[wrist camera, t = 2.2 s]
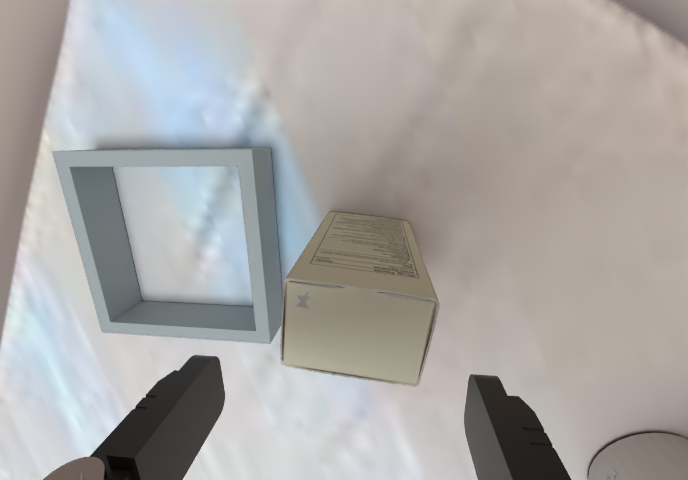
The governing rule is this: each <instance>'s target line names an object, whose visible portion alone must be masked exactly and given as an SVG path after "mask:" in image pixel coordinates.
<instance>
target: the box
mask: <svg viewBox="0 0 688 480" xmlns="http://www.w3.org/2000/svg"><path fill="white" fill-rule="evenodd" d="M52 153H53V157H54V161H55V164H56V168H57V172H58V175H59V179H60V182H61V186H62V190H63V193H64V197H65V201H66V204H67V208H68V211H69V215H70V219H71V222H72V226H73V229H74V233H75V237H76V240H77V244H78V248H79V251H80V255H81V258H82V262H83V266H84V269H85V273H86V277H87V280H88V284H89V287H90V291H91V295H92V298H93V302H94V306H95V309H96V313H97V316H98V320H99V324H100V327H101V331H102V332H103V333H118V334H133V335H148V336H163V337H178V338H192V339H207V340H222V341H237V342H252V343H267V344H270V343H271V342H272V340H273V338H274V336H275V335H276V333H277V331H278V329H279V327H280V326H281V322H282V307H283V296H282V283H281V270H280V257H279V245H278V232H277V219H276V206H275V193H274V181H273V168H272V155H271V148H202V149H103V150H75V151H52ZM132 166H238V169H239V179H240V188H241V197H242V206H243V215H244V224H245V233H246V242H247V252H248V261H249V270H250V279H251V288H252V297H253V306H254V307H248V306H229V305H210V304H191V303H172V302H153V301H142V299H141V294H140V290H139V285H138V281H137V276H136V272H135V267H134V263H133V259H132V254H131V250H130V245H129V241H128V236H127V232H126V227H125V223H124V219H123V214H122V210H121V205H120V201H119V196H118V192H117V187H116V183H115V179H114V174H113V170H112V167H132Z"/></svg>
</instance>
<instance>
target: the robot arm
mask: <svg viewBox="0 0 688 480" xmlns="http://www.w3.org/2000/svg"><path fill="white" fill-rule="evenodd" d="M224 401H225V391H224V385H223V379H222V372H221V366H220V361H219V359H218V357H216V356H201V355H194V356H192V357H191V358H190V359H189V360H188V361H187V362H186V363H185V364H184V365H183V367H182V368H181V369H180V370H179V371H176V370H175V371H173V372H172V373H170V374H169V375H167V376H166V377H164V378H163V379H161V380H160V381H158V382H157V383H156V384H155V386H154V387H153V388H152V389H151V390H150V391H149V392H148V393H147V394H146V397H145V398H143V399H142V400H141V401H140V402H139V403H138V404H137V405H136V408H135V409H133V410H132V411H131V412H130V413H129V414H128V415H127V416H126V417H125V418H124V420H123V421H122V422H121V423H120V424H119V425H118V426H117V427H116V428H115V429H114V431H113V432H112V433H111V434H110V435H109V436H108V437H107V438H106V439H105V440H104V441H103V443H102V444H101V445H100V446H99V447H98V448H97V449H96V450H95V451H94V452H93V454H92V455H91V456H90V457H83V458H79V459H76V460H73V461H71V462H69V463H66V464H64V465H63V466H61V467H59V468H58V469H56V470H54V471H53V472H52V473H50V474H49V475H48V476H47V477H45V478H44V479H43V480H183V478H184V476H185V474H186V473H187V471H188V469H189V468H190V466H191V464H192V462H193V461H194V459H195V457H196V456H197V454H198V452H199V450H200V449H201V447H202V445H203V444H204V442H205V440H206V438H207V437H208V435H209V433H210V432H211V430H212V428H213V426H214V425H215V423H216V421H217V420H218V418H219V416H220V414H221V412H222V409H223V406H224ZM464 424H465V433H466V437H467V441H468V445H469V449H470V452H471V456H472V460H473V463H474V467H475V470H476V474H477V478H478V480H571V478H570V476H569V475H568V473H567V471H566V469H565V467H564V465H563V463H562V462H561V460H560V458H559V456H558V454H557V452H556V451H555V449H554V448H553V447H552V443H551V441H550V440H549V438H548V436H547V434H546V433H544V429H543V427H542V425H541V423H540V421H539V419H538V418H537V416H536V414H535V412H534V411H533V410H532V409H531V408H530V407H529V406H528V405H527V404H526V403H525V402H524V401H523V400H522V399H521V398H520V397H519V396H507V394H506V391H505V389H504V387H503V385H502V383H501V381H500V379H499V378H498V377H497V376H488V375H473V374H471V375H470V377H469V382H468V390H467V397H466V405H465V413H464ZM588 478H589V480H688V439H686V438H684V437H681V436H677V435H673V434H665V433H644V434H639V435H633V436H629V437H627V438H624V439H621V440H618V441H616V442H615V443H613V444H611V445H609V446H608V447H606V448H605V449H604V450H603V451H601V452H600V453H599V454H598V455H597V457H596V458H595V459H594V460H593V462H592V464H591V467H590V469H589V476H588Z"/></svg>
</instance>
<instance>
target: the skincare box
mask: <svg viewBox="0 0 688 480" xmlns="http://www.w3.org/2000/svg"><path fill="white" fill-rule="evenodd" d="M438 310H439V301H438V298H437V296H436V293H435V290H434V288H433V285H432V282H431V280H430V277H429V274H428V272H427V269H426V266H425V264H424V261H423V258H422V255H421V253H420V250H419V247H418V245H417V242H416V239H415V237H414V234H413V231H412V228H411V226H410V223H409V222H408V221H403V220H397V219H390V218H383V217H376V216H368V215H359V214H350V213H339V212H329V213H328V214H327V216H326V217H325V219H324V220H323V222H322V223H321V225H320V226H319V228H318V229H317V231H316V233H315V234H314V236H313V237H312V239H311V240H310V242H309V243H308V245H307V246H306V248H305V250H304V251H303V253H302V254H301V256H300V257H299V259H298V260H297V262H296V263H295V265H294V266H293V268H292V270H291V271H290V273H289V274H288V275H287V277H286V279H285V281H284V294H283V307H282V322H281V364H282V365H284V366H288V367H294V368H298V369H304V370H308V371H314V372H320V373H325V374H332V375H339V376H344V377H351V378H358V379H365V380H372V381H378V382H386V383H393V384H402V385H409V386H418V385H419V383H420V379H421V375H422V371H423V368H424V365H425V361H426V357H427V354H428V351H429V347H430V342H431V338H432V335H433V331H434V327H435V322H436V318H437V314H438Z"/></svg>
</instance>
